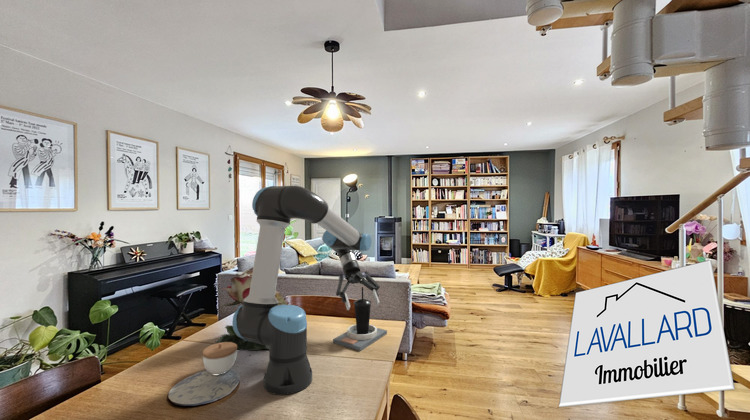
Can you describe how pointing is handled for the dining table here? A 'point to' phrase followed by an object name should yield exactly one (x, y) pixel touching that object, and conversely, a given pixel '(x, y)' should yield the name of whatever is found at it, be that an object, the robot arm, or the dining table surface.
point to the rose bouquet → (238, 294)
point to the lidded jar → (219, 357)
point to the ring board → (360, 342)
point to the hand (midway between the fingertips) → (363, 306)
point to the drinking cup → (362, 314)
